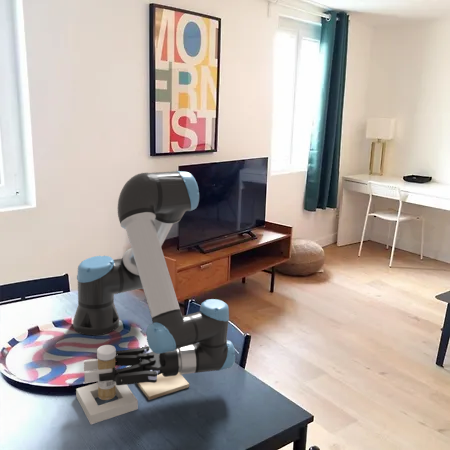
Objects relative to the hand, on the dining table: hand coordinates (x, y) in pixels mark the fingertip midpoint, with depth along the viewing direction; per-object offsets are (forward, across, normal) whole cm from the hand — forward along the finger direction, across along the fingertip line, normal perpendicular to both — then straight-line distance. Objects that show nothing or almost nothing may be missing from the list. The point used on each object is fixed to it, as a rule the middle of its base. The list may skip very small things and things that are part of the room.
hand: (84, 371), depth 114 cm
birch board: (-20, +6, -10) cm, 23 cm away
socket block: (-5, 0, -10) cm, 11 cm away
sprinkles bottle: (-5, 0, -8) cm, 10 cm away
